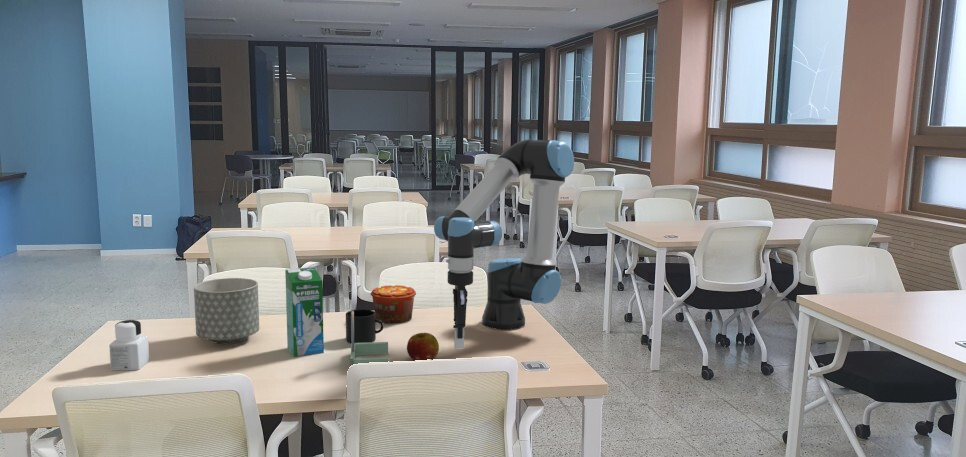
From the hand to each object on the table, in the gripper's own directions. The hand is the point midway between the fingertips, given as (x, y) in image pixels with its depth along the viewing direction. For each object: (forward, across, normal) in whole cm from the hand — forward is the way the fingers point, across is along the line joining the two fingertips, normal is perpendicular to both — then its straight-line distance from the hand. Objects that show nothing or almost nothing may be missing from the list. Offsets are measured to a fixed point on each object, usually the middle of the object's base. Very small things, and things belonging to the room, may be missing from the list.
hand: (459, 347), depth 212 cm
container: (+4, -5, -94) cm, 94 cm away
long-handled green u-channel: (+4, 0, -27) cm, 27 cm away
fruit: (+4, 0, -11) cm, 11 cm away
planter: (+4, -26, -71) cm, 76 cm away
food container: (+4, -44, -18) cm, 48 cm away
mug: (+4, -21, -28) cm, 35 cm away
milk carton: (+4, -13, -46) cm, 48 cm away
